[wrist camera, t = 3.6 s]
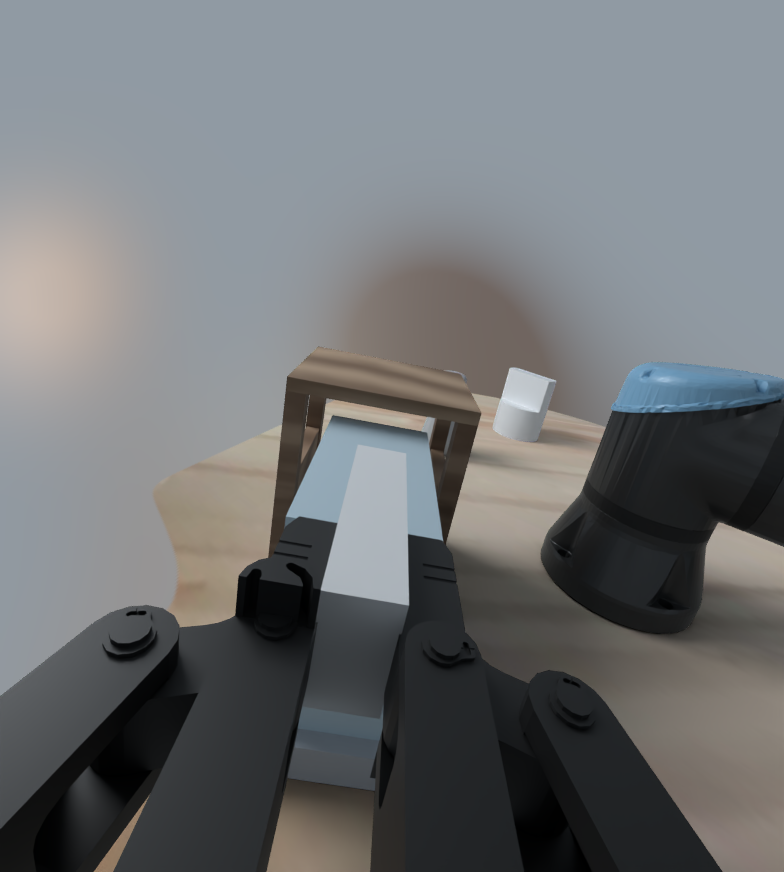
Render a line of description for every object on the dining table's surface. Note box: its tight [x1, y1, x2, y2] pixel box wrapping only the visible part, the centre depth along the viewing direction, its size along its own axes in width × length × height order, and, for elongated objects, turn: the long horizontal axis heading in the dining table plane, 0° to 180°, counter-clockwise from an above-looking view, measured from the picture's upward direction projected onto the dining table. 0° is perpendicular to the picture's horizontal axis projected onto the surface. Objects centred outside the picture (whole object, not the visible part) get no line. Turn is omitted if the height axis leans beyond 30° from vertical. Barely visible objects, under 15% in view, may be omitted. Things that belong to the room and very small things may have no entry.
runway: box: [287, 729, 379, 791], centre depth 36 cm, size 26×13×2 cm, turn 178°
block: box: [284, 415, 443, 741], centre depth 28 cm, size 14×7×13 cm, turn 178°
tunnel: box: [268, 347, 481, 558], centre depth 40 cm, size 12×14×18 cm
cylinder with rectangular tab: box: [493, 368, 556, 442], centre depth 87 cm, size 9×9×12 cm
